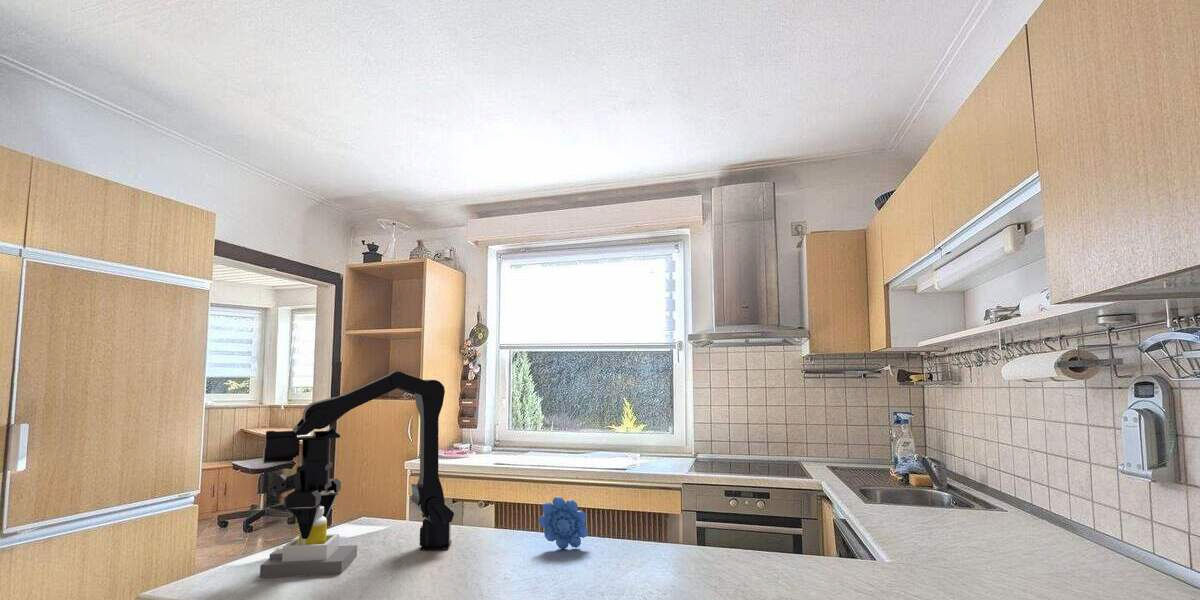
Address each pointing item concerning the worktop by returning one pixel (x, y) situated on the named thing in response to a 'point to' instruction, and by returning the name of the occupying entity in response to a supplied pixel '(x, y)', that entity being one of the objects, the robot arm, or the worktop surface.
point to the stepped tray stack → (309, 559)
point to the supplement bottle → (316, 530)
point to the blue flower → (563, 523)
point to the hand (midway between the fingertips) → (312, 533)
